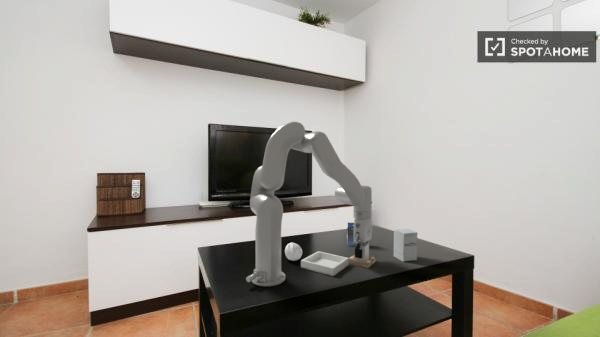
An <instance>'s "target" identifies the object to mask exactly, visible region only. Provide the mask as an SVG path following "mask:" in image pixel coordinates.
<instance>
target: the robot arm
mask: <svg viewBox="0 0 600 337" xmlns="http://www.w3.org/2000/svg"><path fill="white" fill-rule="evenodd" d="M290 150H295V151H299V152H301V153H305V154H307V153H308V154H312V156H313V157H314V159H315V161H316V163H317V164H318V166H319V168H320V169H321V171H322V172H323V173H324V175H326V176H327V177H329V178H331V179H332V180H334V181H335V182H336V183H338V184H339V185H340V186H339V187H337V188H336V190H335V191H334V198H335V199H336V201H338V202H340V203H341V204H346V205H350V206H353V218H354V220H353V221H354V222H353V223H354V225H353V226H354V241H353V243H354V246H353V248H354V254H355V257H356V258H361V259H362V249H361V248H362V243H366V242H367V241H369V244H370V243H371V242H370V240H371V239H372V238H373V228H372V227H373V226H372V225H373V224H372V201H373V200H372V194H373V193H372V187H371V186H369V185H362V184H361V182H360V181H359V179H358V178H357V176H356V175H355V174H354V173H353V172H352V171H351V170H350V169H349V167H348V166H346V165H345V164H344V163H343V162H342V161H341V159H340V157H339V155H338V153H337V152H336V150H335V148H334V146H333V144H332V143H331V140H330V139H329V137H328V135H327V134H326V133H325V132H322V131H311V132H306V129H305V126H304V125H303V123H302V122H298V121H291V122H288V123H285V124H283V125H280V126H279V127H277V128H276V130H275V131H274V132H273V133H272V134H271V136H270V137H269V139H268V141H267V143H266V145H265V150H264V156H263V160H262V165H261V166H259V167H257V169H255V171H254V174H253V179H252V184H251V190H250V199H249V207H250V210H251V211H252V213H254V214H255V215H256V220H255V230H254V232H255V235H254V236H255V239H254V240H255V268H254V269H253V273H252V274H249V275H248V276H246V278H245V280H246V282H247V283H250V282H251V283H252V284H254V285H256V286H259V287H273V286H274V287H275V286H278V285H280V284H282V283H284V282H285V280H286V273H284V272H283V271H282V224H283V223H282V221H283V214H284V206H283V203H282V201H281V200H280V198H279V197H277V196H276V195H275V191H279V190H280V189H281V188H282V187H283V185H284V183H285V175H286V166H287V161H288V155H289V153H290ZM358 240H361V241H358ZM358 243H360V245H359V244H358Z"/></svg>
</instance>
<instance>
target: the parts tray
mask: <svg viewBox="0 0 600 337" xmlns="http://www.w3.org/2000/svg"><path fill="white" fill-rule="evenodd" d="M349 258H350V257H345V256H341V255H338V254H337V255H336V254H333V253H328V252H324V251H321V250H320V251H316V252H314V253H312V254H310V255H308V256H307V257H305V258H303V259H301V260H300V268H301V269H305V270H309V271H312V272H314V273H315V272H316V273H319V274H323V275H327V276H330V277H334V276H336V275H337V274H338V273H340V272H341V271H342V270H344V269H346V267H348V266H349V265H350V264H349Z"/></svg>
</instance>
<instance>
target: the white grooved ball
mask: <svg viewBox="0 0 600 337" xmlns="http://www.w3.org/2000/svg"><path fill="white" fill-rule="evenodd" d="M284 254H285V258H286V259H288V260H289V261H292V262H296V261H298V260H300V259H301V257H302V255H303V249H302V247H301V246H300V245H299V244H298V243H295V242H290V243H287V245H285V249H284Z"/></svg>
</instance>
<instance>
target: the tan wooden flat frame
mask: <svg viewBox="0 0 600 337" xmlns="http://www.w3.org/2000/svg"><path fill="white" fill-rule="evenodd" d="M348 258H349V265H352V266H358V267H362V268H366V269H369V268H370V267H372V265H374V264H375V263H376V261H377V260H376V258H377V256H372V255H369V260H368V261H367V262H365V261H361V260H356V259H355V253H354V254H353V255H352V256H350V257H348Z"/></svg>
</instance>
